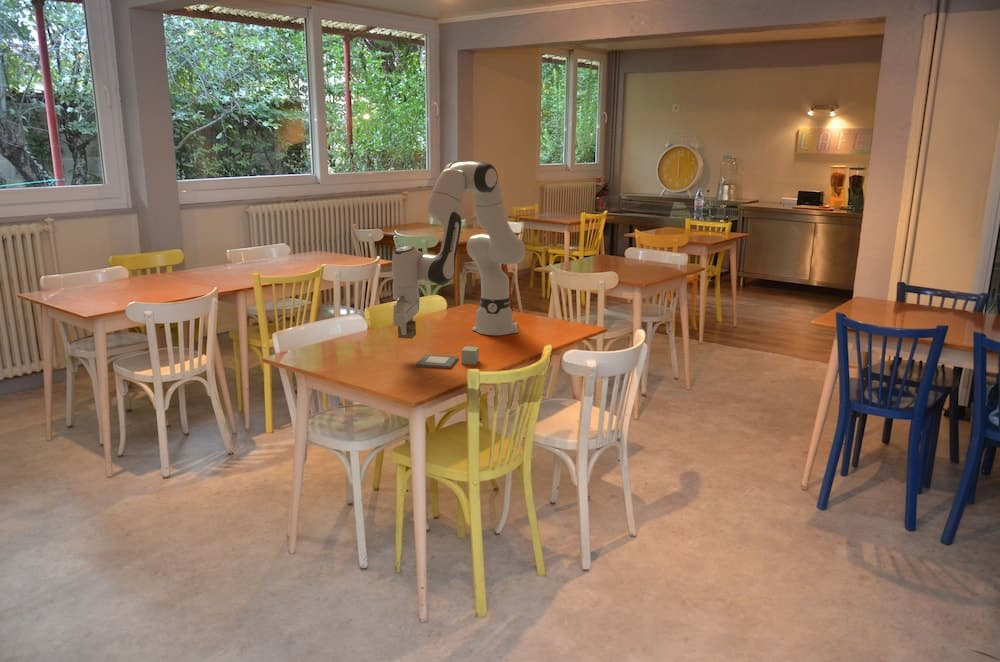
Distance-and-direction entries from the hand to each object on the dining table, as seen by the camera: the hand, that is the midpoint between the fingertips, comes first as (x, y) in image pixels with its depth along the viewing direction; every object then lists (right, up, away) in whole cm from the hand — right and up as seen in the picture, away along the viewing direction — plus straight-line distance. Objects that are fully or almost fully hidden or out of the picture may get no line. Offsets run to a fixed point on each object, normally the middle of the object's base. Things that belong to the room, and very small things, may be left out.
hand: (407, 331), depth 275 cm
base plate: (+11, -11, -3) cm, 16 cm away
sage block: (+22, -11, -2) cm, 25 cm away
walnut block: (0, -2, 0) cm, 2 cm away
